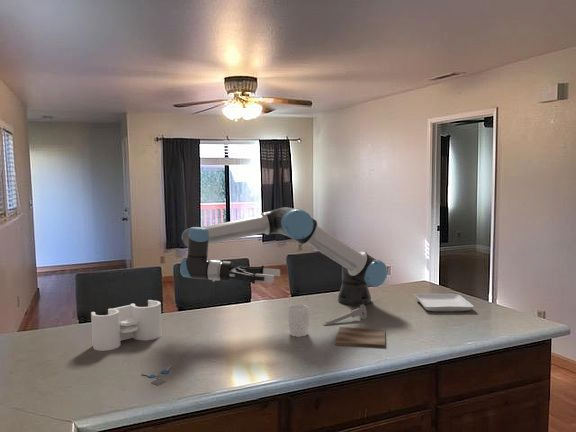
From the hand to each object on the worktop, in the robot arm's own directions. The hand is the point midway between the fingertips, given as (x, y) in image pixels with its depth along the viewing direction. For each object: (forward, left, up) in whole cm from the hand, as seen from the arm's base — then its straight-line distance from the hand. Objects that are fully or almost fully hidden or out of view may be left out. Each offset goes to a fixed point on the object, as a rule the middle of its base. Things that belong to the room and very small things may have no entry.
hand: (277, 275), depth 181 cm
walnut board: (+1, +31, -22) cm, 38 cm away
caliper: (-18, +24, -22) cm, 37 cm away
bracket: (+17, -51, -22) cm, 58 cm away
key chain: (+44, -28, -22) cm, 57 cm away
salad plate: (-47, +65, -22) cm, 83 cm away
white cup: (0, +8, -22) cm, 23 cm away
